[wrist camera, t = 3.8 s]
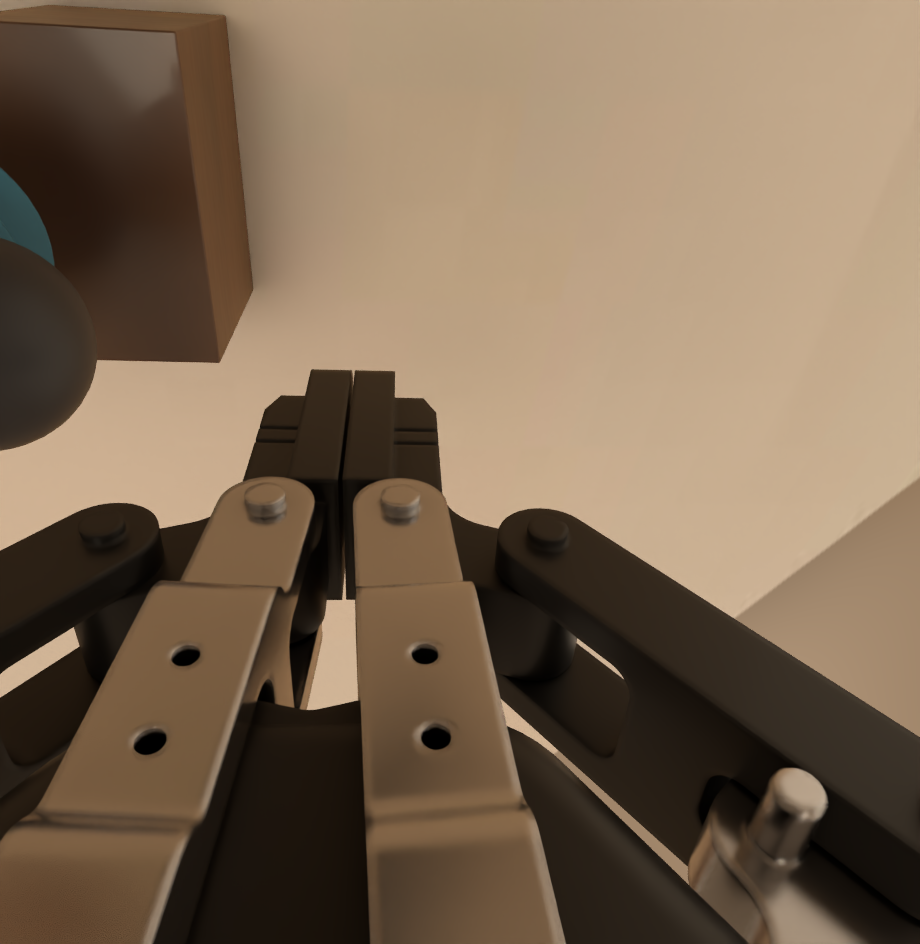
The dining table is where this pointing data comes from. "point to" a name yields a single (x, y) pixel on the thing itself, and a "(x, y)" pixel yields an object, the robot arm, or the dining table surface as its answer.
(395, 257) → the dining table surface
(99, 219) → the walnut block
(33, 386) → the striped banded cylinder
